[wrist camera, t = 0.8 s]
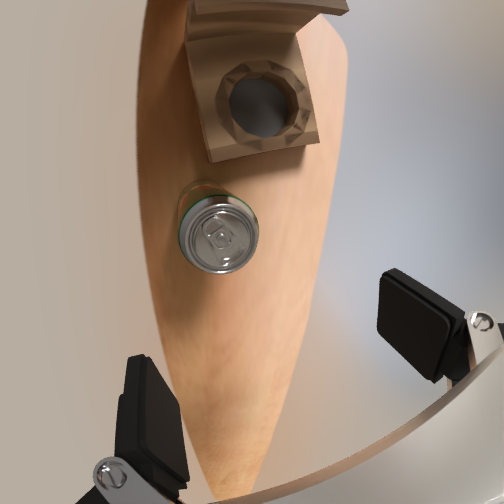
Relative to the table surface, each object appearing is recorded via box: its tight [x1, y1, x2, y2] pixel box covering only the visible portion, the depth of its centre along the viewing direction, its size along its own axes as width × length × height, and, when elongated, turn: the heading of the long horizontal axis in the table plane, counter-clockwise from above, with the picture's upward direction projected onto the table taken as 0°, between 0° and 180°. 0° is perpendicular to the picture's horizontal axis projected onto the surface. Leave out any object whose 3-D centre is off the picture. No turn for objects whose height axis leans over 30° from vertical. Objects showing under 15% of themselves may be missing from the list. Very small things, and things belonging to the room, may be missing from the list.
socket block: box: [184, 0, 349, 163], centre depth 18 cm, size 14×10×12 cm
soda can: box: [178, 180, 259, 274], centre depth 21 cm, size 5×5×12 cm
